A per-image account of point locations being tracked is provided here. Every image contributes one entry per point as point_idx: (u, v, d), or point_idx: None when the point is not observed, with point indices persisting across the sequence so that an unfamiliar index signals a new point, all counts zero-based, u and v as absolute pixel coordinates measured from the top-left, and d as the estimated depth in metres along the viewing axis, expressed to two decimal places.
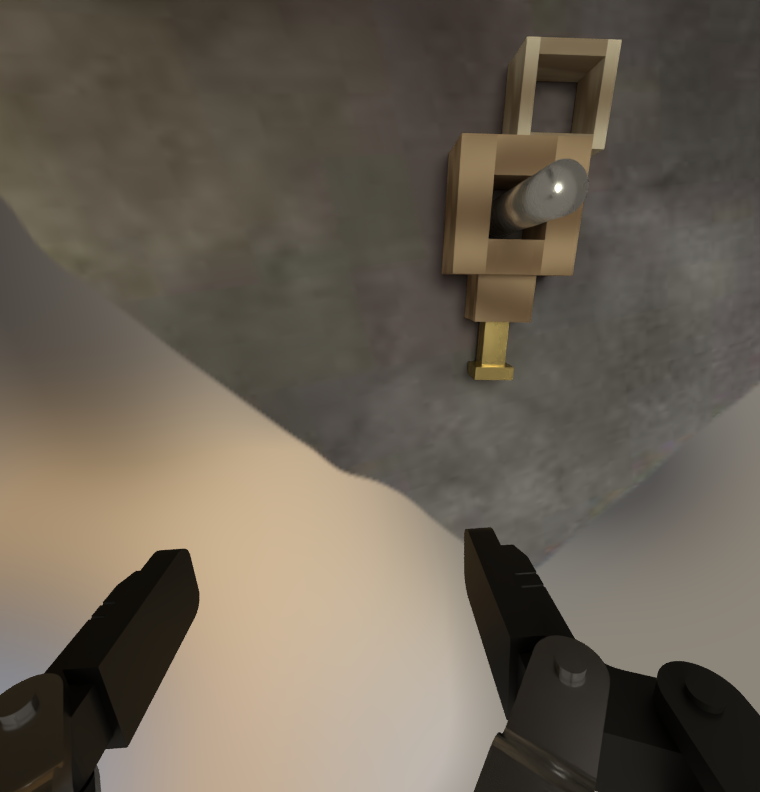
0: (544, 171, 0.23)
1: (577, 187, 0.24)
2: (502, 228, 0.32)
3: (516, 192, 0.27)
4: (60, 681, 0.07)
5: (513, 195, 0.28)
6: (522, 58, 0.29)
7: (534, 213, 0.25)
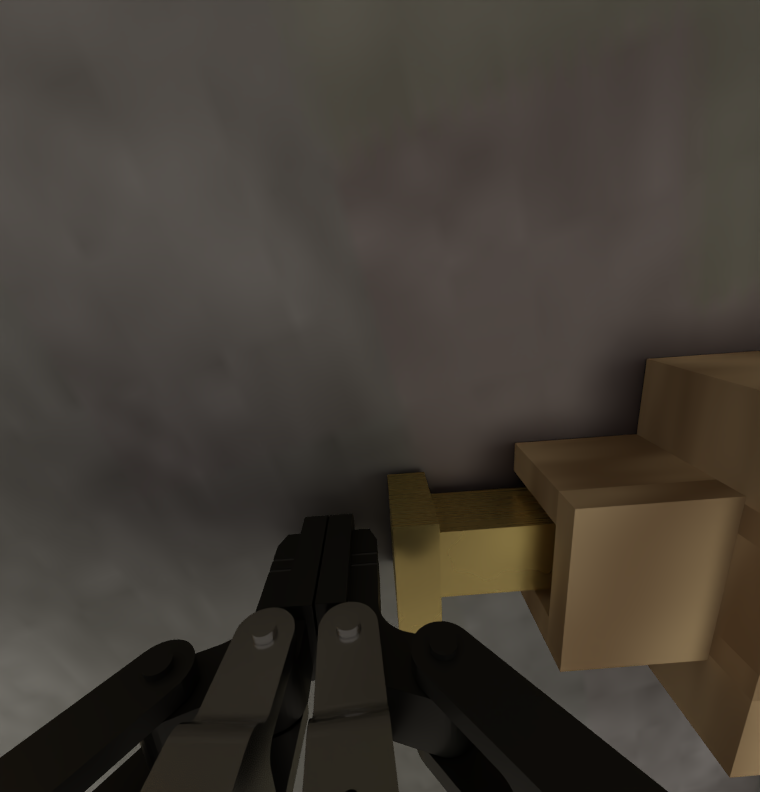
0: None
1: None
2: None
3: None
4: (287, 614, 0.08)
5: None
6: None
7: None
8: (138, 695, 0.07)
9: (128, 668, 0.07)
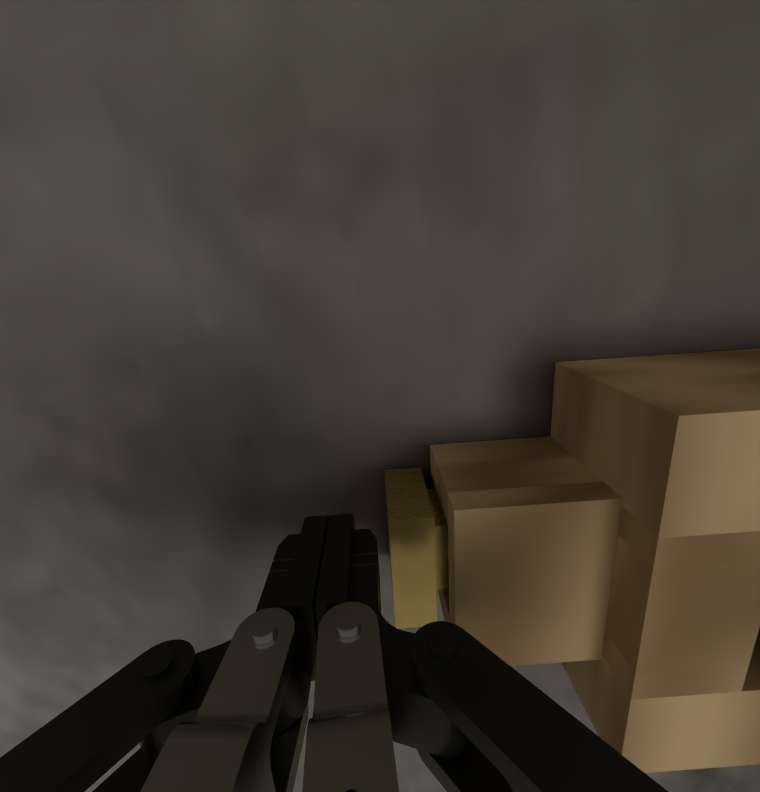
0: None
1: None
2: None
3: None
4: (287, 614, 0.08)
5: None
6: None
7: None
8: (138, 695, 0.07)
9: (128, 668, 0.07)
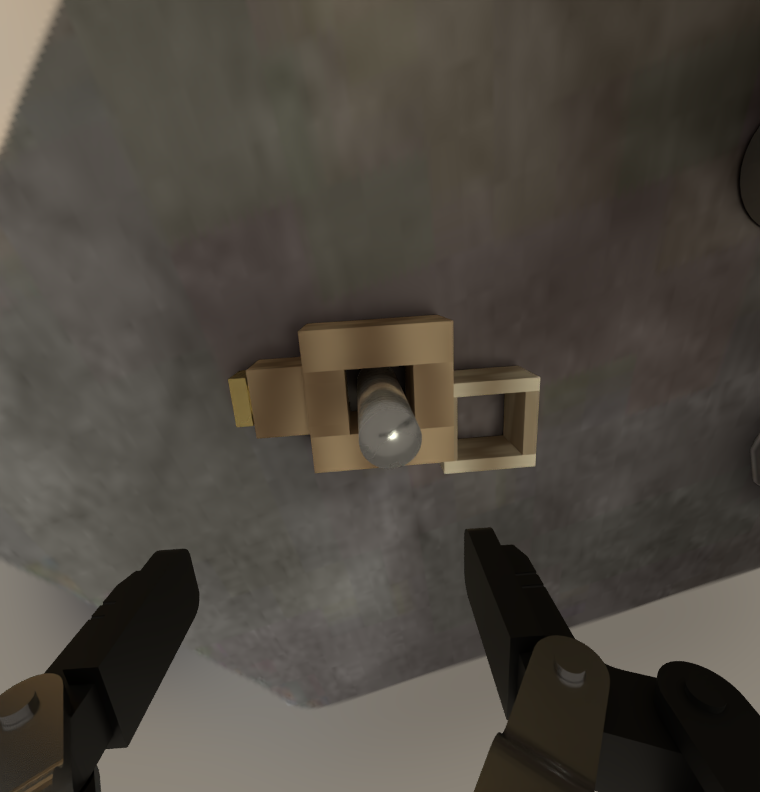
0: (406, 415, 0.19)
1: (392, 456, 0.20)
2: (359, 385, 0.27)
3: (390, 390, 0.23)
4: (60, 681, 0.07)
5: (388, 388, 0.23)
6: (522, 376, 0.28)
7: (364, 413, 0.20)
8: None
9: None
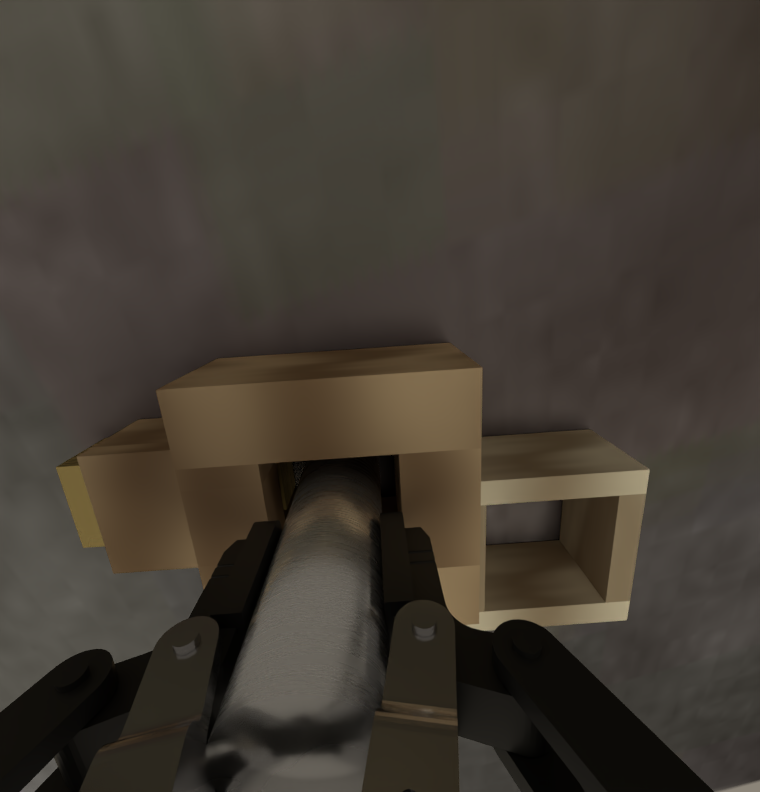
0: (346, 704, 0.06)
1: None
2: (299, 482, 0.14)
3: (337, 540, 0.10)
4: (214, 622, 0.08)
5: (333, 530, 0.10)
6: (611, 463, 0.15)
7: (244, 647, 0.08)
8: (47, 706, 0.07)
9: (36, 687, 0.07)
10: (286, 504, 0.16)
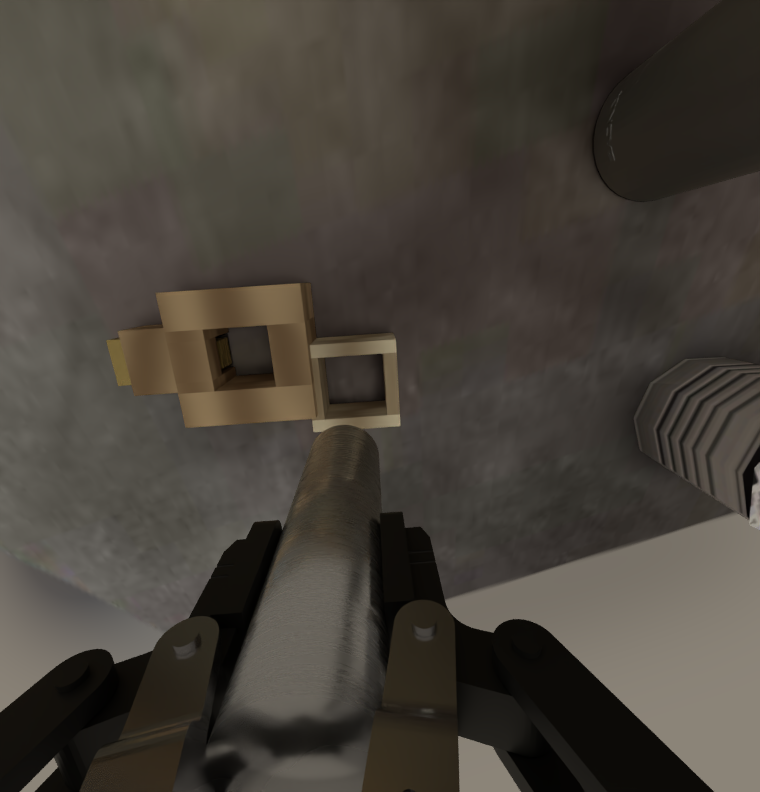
0: (346, 705, 0.06)
1: None
2: (299, 483, 0.14)
3: (337, 541, 0.10)
4: (214, 622, 0.08)
5: (333, 530, 0.10)
6: (381, 339, 0.30)
7: (244, 648, 0.08)
8: (46, 706, 0.07)
9: (36, 687, 0.07)
10: (223, 365, 0.31)
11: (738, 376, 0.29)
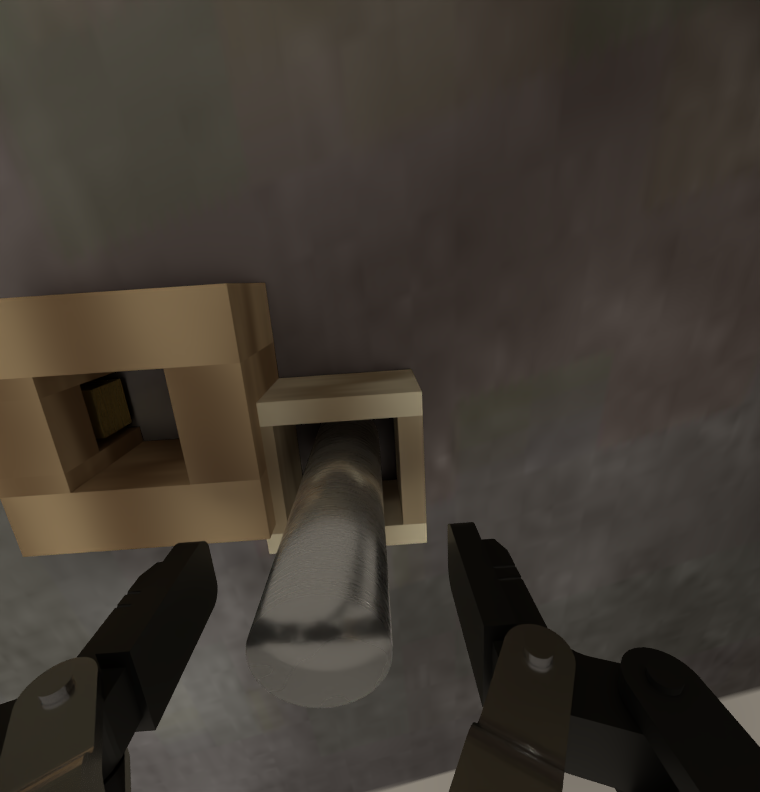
0: (355, 605, 0.08)
1: (326, 685, 0.09)
2: (309, 458, 0.16)
3: (344, 498, 0.12)
4: (94, 664, 0.07)
5: (341, 490, 0.12)
6: (394, 388, 0.16)
7: (272, 574, 0.09)
8: None
9: None
10: (105, 433, 0.17)
11: None
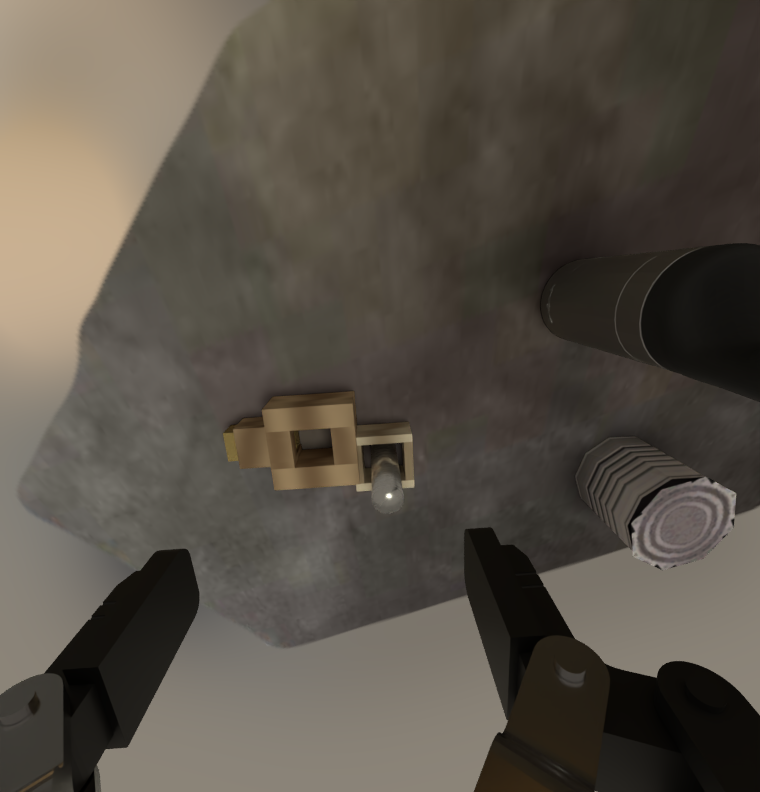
0: (396, 487, 0.38)
1: (389, 507, 0.38)
2: (372, 456, 0.46)
3: (389, 467, 0.41)
4: (60, 681, 0.07)
5: (388, 465, 0.42)
6: (402, 432, 0.45)
7: (374, 484, 0.39)
8: None
9: None
10: (296, 447, 0.47)
11: (634, 458, 0.45)
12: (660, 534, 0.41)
